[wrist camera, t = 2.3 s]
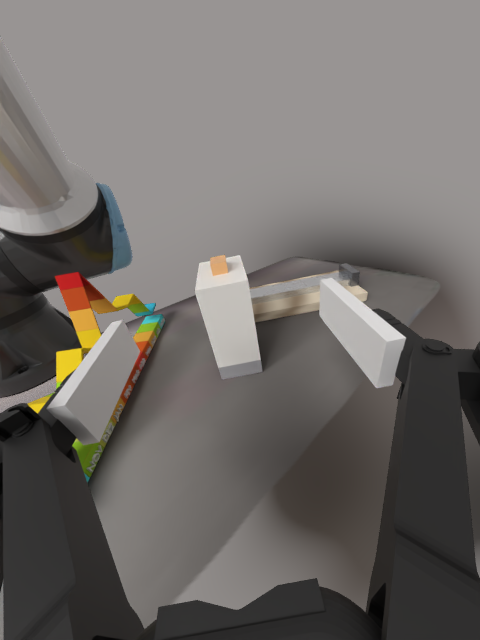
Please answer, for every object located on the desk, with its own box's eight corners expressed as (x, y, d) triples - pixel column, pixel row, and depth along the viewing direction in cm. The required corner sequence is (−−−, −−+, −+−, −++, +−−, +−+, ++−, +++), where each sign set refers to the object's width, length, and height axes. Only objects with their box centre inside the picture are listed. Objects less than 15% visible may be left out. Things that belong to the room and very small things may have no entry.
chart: (56, 560, 16) (-209, 455, 8) (15, 563, 16) (-284, 464, 8) (166, 322, 41) (132, 240, 33) (150, 325, 42) (112, 243, 33)
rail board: (231, 327, 36) (229, 319, 35) (228, 299, 44) (226, 292, 43) (366, 300, 36) (367, 292, 35) (337, 277, 44) (337, 270, 43)
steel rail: (229, 310, 37) (226, 298, 36) (227, 298, 41) (225, 287, 40) (358, 285, 37) (359, 271, 36) (345, 275, 41) (346, 263, 40)
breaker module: (222, 379, 27) (190, 278, 20) (220, 339, 34) (196, 253, 26) (262, 371, 27) (246, 267, 20) (253, 333, 34) (238, 245, 26)
